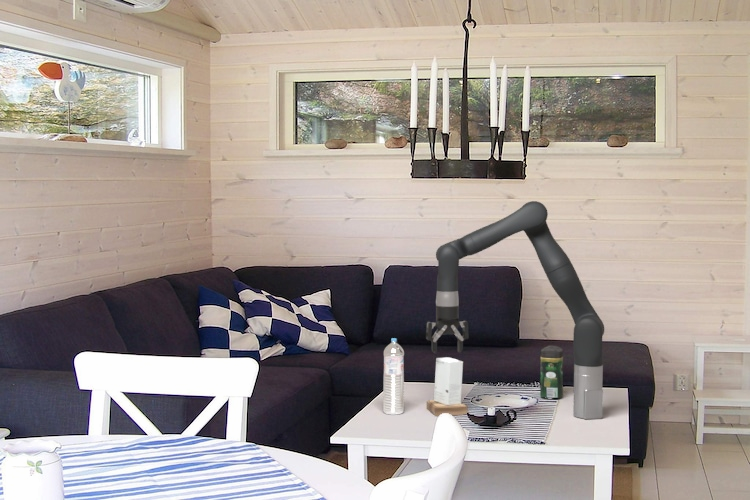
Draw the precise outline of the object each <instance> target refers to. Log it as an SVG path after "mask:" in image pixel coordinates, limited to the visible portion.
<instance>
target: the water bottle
mask: <svg viewBox="0 0 750 500" xmlns="http://www.w3.org/2000/svg"><path fill="white" fill-rule="evenodd" d="M390 341H391V342H390V343H389V344H388V345H387V346H386V347H385V348H384V350H383V383H382V384H383V388H382V389H383V391H382V392H383V395H382V397H383V403H382V404H383V405H382V406H383V408H382V409H383V413H384V414H386V415H390V416H391V415H392V416H393V415H395V416H396V415H397V416H398V415H401V414H403V413H404V411H405V409H404V408H405V407H404V403H405V402H404V398H405V396H404V395H405V394H404V393H405V391H404V390H405V386H404V385H405V373H404V372H405V371H404V370H405V369H404V364H405V362H404V361H405V359H404V356H405V351H404V349H403V347H402V346H401V345H400V344H399V343H398V338H395V337H394V338H393V337H392V338H391V340H390Z"/></svg>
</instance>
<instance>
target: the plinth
mask: <svg viewBox="0 0 750 500" xmlns="http://www.w3.org/2000/svg"><path fill="white" fill-rule="evenodd" d="M468 408H469V407H468V406H467V405H465V403H463V402H461V404H457V405H445V404H442V403H439V402H435V401H434V399H431V400H430V399H429V400H428V401H426V410H427V411H428V412H430V413H431V414H432V415H433V416H434V417H440V416H439V415H440V414H442V413H449V414H452V416H464V415H463V414H467V413H468V412H469V411H468Z"/></svg>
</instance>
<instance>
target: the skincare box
mask: <svg viewBox="0 0 750 500" xmlns="http://www.w3.org/2000/svg"><path fill="white" fill-rule="evenodd" d="M463 367H464V361H462V360H459V359H456V358H452V357H450V356H448V357H447V356H445V357H436V359H435V373H434V376H435V377H434V391H433V392H434V393H433V400H434V401H435V402H439V403H442V404H445V405H457V404H461V403H462V390H463V389H462V386H463V369H464V368H463Z"/></svg>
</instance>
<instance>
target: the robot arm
mask: <svg viewBox="0 0 750 500" xmlns="http://www.w3.org/2000/svg"><path fill="white" fill-rule="evenodd" d="M548 217H549V216H548V210H547V207H546V206H545V205H544V204H543V203H542V202H540V201H538V200H537V201H536V200H532V201H528V202H526V203H524V204H523V205H522V206H521V207H520V208H519V209H517V210H515V211H514V212H513V213H511V214H509V215H507V216H506V217H503V218H502V219H499V220H497V221H495V222H493V223H490V224H488V225H485V226H483V227H480V228H479V229H475V230H474V231H472V232H469V233H467V234H465V235H463V236H462V237H459V238H458V239H454V240H451V241H448V242H446V243H444V244H442V245H440V246H439V247H438V248H437V249H436V252H435V258H436V260H437V263H438V267H437V268H438V269H437V271H438V274H437V276H436V277H437V279H436V296H435V322H431V321H426V331H425V332H426V333H425V339H426V340H427V341H430V342H431V351H432V352H433V353H434V354H437V353H438V342H437V341H438V340H439V338H440V337H441V336H442V335H443V336H446V335H455V337H456V339H457V345H456V346H457V353H462V351H463V350H464V341H465V340H468V339H469V338H470V337H469V336H470V335H469V322H468V321H467V320H463V321H460V320H459V319H460V317H459V316H460V315H459V307H460V306H459V299H460V298H459V282H458V281H459V279H458V275H459V273H458V272H459V266H460V260H462V259H464V258H466V257H469V256H474V255H475V254H478V253H480V252H482V251H485V250H486V249H489V248H490V247H492V246H495V245H497V244H498V243H500V242H501V241H503V240H505V239H506V238H508V237H510V236H513V235H515V234H518V233H521V232H524V233H525V234H526V236H527V238H528V239H529V241H530V243H531V244H532V246H533V248H534V251H535V253H536V255H537V258H538V261H539V262H540V264H541V265H540V266H541V267H542V269H543V271H544V273H545V276H546V277H547V280H548V281H549V283H550V285H551V288H552V289H553V290H554V291H555V293H556V294H557V295H558V296H559V298H560V300H561V301H562V302H563V303H564V304H565V306H566V307H567V309H568V311H569V313H570V315H571V317H572V320H573V322H574V327H573V338H572V339H573V344H572V345H573V346H572V347H573V349H572V350H573V362H574V363H573V405H572V406H573V412H572V413H573V414H572V415H573V417H576V418H580V419H584V420H593V419H594V420H595V419H597V420H598V419H603V400H604V399H603V393H604V392H603V391H604V390H603V378H604V377H603V373H604V370H603V369H604V357H603V336H604V334H605V325H604V322H603V321H602V319H601V318H600V316H599V314H598V313H597V311H596V310H595V308H594V307H593V305H592V304H591V302H590V301H589V298H588V296H587V294H586V292H585V291H586V290H584V286H583V285H582V282H581V279H580V277H579V275H578V273H577V271H576V269H575V267H574V265H573V262H572V261H571V260H570V258H569V256H568V255H567V253H566V252H565V251H564V249H563V248H562V246H560V244H559V243H558V242H557V241H556V239H555V238H554V236H553V234H552V233H551V229H550V228H549V226H548V223H547V220H548ZM434 327H435V328H436V331H435V332H434V334H433V332H432V331H433V329H434ZM459 327H461V328H462V335H461V333H460V331H459V330H458V328H459ZM432 334H433V335H432Z"/></svg>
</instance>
